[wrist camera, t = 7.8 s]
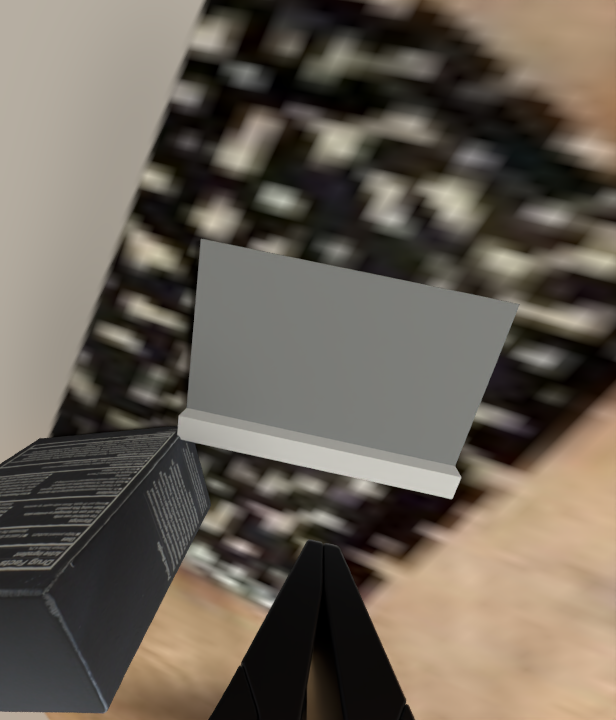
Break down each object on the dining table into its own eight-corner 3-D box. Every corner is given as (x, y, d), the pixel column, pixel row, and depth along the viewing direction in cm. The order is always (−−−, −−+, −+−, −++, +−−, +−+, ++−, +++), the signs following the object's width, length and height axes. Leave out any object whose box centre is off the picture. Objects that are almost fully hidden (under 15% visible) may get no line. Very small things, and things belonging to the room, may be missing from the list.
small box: (72, 518, 23) (-140, 721, 13) (37, 436, 21) (-241, 596, 11) (215, 510, 21) (106, 730, 11) (191, 421, 19) (37, 589, 9)
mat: (443, 481, 20) (452, 499, 18) (188, 425, 20) (176, 438, 18) (514, 303, 16) (531, 307, 15) (204, 239, 16) (192, 237, 15)
